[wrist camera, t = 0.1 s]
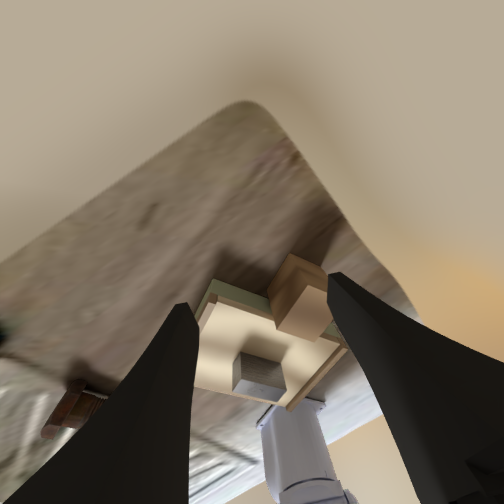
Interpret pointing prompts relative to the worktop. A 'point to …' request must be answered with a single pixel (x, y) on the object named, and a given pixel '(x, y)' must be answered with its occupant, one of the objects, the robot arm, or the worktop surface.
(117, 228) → the worktop surface
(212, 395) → the worktop surface
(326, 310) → the block
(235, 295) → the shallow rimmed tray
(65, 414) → the bolt
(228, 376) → the lid
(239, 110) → the worktop surface
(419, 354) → the robot arm
